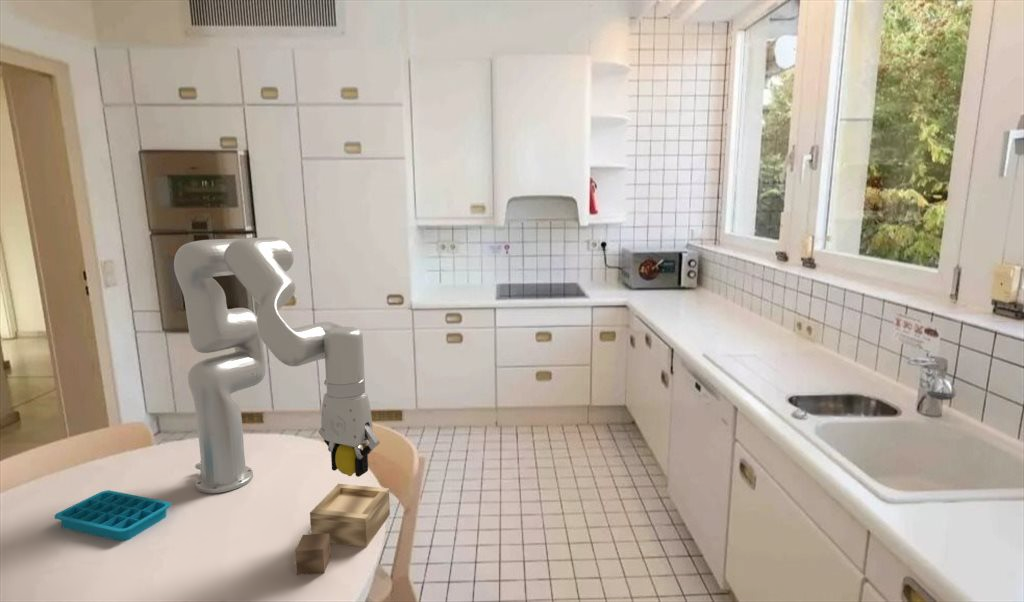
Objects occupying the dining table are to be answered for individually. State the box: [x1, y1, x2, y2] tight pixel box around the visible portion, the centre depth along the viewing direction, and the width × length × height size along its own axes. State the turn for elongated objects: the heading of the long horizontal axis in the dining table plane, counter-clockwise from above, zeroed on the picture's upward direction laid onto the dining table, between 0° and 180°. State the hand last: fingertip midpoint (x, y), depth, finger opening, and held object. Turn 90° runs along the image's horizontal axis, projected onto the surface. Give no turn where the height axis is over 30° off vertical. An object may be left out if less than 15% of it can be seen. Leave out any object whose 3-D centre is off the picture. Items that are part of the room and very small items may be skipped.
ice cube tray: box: [54, 490, 172, 541], centre depth 117 cm, size 12×20×3 cm, turn 74°
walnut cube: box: [294, 533, 332, 576], centre depth 102 cm, size 5×5×5 cm
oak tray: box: [309, 483, 391, 548], centre depth 115 cm, size 12×12×6 cm
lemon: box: [335, 444, 363, 477], centre depth 112 cm, size 6×6×8 cm
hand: (350, 469), depth 113 cm, fingers closed on lemon, 5 cm apart
